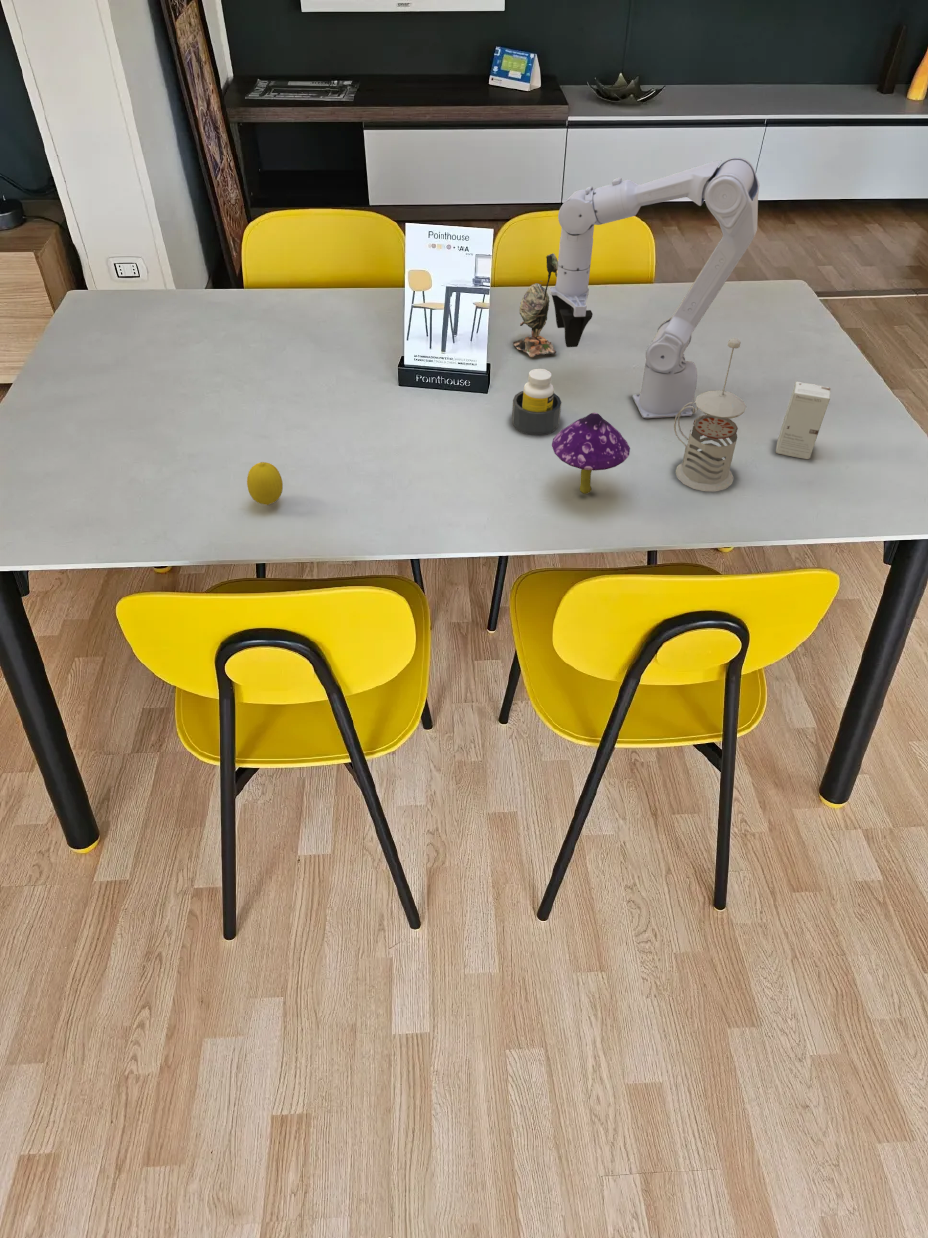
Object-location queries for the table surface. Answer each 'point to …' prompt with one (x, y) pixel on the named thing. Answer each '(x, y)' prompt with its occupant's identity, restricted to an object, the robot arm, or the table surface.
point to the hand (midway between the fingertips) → (567, 336)
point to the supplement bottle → (538, 391)
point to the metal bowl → (535, 417)
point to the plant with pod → (537, 314)
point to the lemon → (264, 483)
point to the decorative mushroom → (590, 447)
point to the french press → (711, 438)
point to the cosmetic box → (803, 420)
